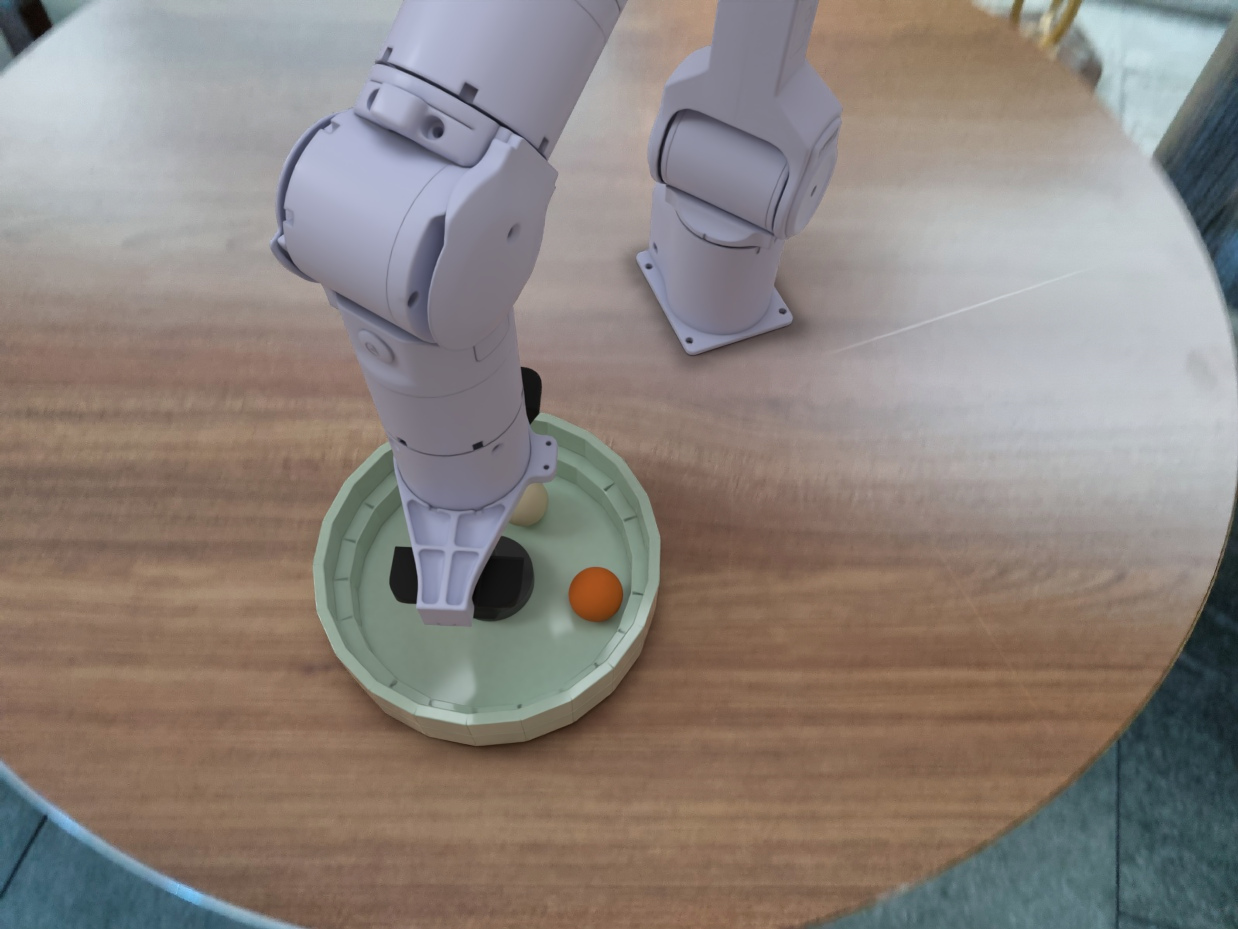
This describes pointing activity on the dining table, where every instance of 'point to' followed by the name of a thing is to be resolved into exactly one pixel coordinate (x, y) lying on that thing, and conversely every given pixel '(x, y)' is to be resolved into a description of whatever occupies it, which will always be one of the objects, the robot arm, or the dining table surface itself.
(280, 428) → the dining table surface
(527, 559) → the black peg stand
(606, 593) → the orange ball
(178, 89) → the dining table surface
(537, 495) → the beige ball
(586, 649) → the bowl
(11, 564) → the dining table surface
